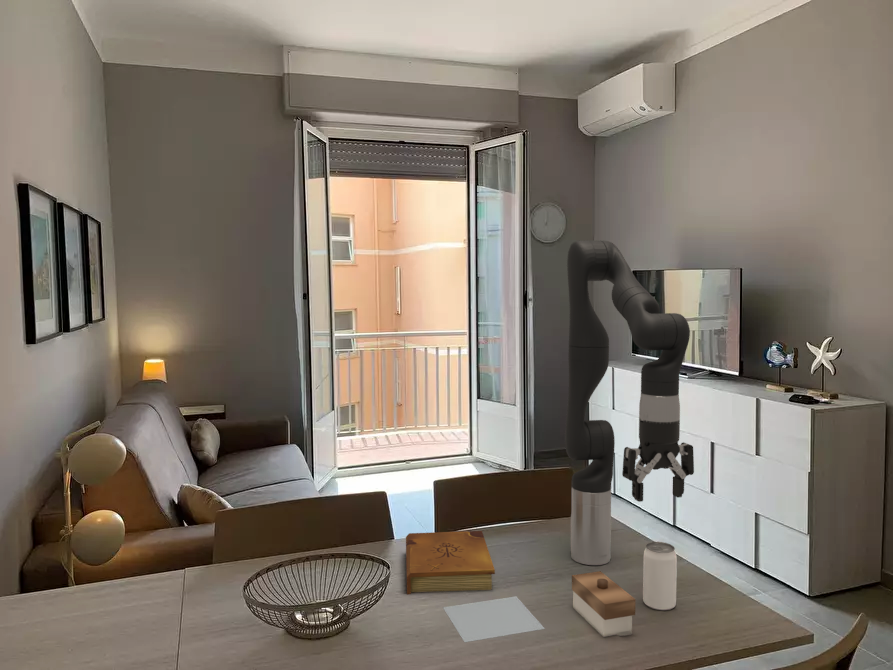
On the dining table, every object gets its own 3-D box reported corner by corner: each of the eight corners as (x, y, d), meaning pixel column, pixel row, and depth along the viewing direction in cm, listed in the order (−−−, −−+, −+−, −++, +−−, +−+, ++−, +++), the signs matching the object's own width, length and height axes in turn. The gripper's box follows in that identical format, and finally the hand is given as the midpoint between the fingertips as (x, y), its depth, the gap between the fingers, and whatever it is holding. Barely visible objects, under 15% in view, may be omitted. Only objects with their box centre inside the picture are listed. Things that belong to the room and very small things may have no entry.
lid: (571, 589, 137) (571, 569, 136) (600, 585, 139) (600, 565, 138) (604, 620, 124) (604, 597, 124) (635, 614, 126) (635, 593, 126)
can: (677, 612, 135) (678, 554, 134) (644, 609, 136) (645, 551, 136) (673, 597, 142) (674, 541, 141) (641, 595, 143) (642, 539, 142)
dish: (573, 609, 137) (573, 590, 136) (599, 605, 138) (599, 586, 138) (603, 639, 125) (603, 618, 125) (631, 634, 127) (632, 613, 127)
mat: (442, 609, 137) (442, 607, 137) (516, 598, 142) (516, 596, 142) (464, 644, 124) (464, 642, 124) (544, 631, 128) (544, 628, 128)
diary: (406, 556, 166) (405, 533, 166) (482, 553, 167) (481, 530, 167) (407, 598, 143) (406, 572, 143) (494, 595, 144) (494, 568, 144)
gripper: (680, 410, 137) (678, 489, 138) (616, 415, 133) (615, 495, 134) (703, 418, 129) (701, 501, 131) (636, 422, 126) (635, 508, 127)
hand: (657, 498), depth 132 cm, fingers open, 8 cm apart
